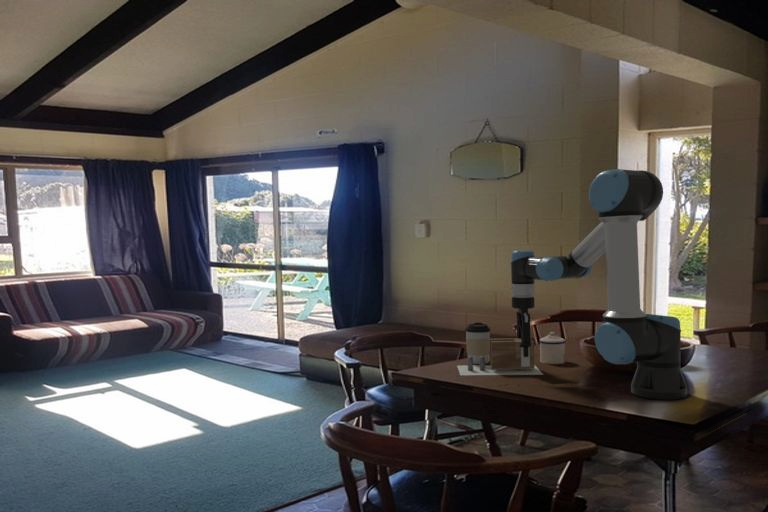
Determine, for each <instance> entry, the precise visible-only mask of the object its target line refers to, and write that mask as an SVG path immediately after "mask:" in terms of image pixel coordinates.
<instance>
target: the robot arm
mask: <svg viewBox="0 0 768 512" xmlns="http://www.w3.org/2000/svg"><path fill="white" fill-rule="evenodd" d="M663 187H664V186H663V184H662V182H661V180H660V178H659V177H658V176H657V175H656V174H654V173H652V172H650V171H647V170H634V169H633V170H632V169H623V168H622V169H620V168H618V169H607V170H604V171H601V172H600V173H598V175H596V177H595V178H594V179H593V180H592V182H591V184H590V186H589V190H588V191H589V192H588V199H589V203H590V205H591V206H592V208H593V209H594V210H595V211H597V212H598V220H599V221H600V223H599V224H598V225H597V226H596V227H595V228H594V229H593V230H592V231H591V232H590V233H588V235H586V237H585V238H583V240H581V242H580V243H579V244H578V245H576V247H574V249H573V250H572V251H571V252H569V254H567V255H561V256H560V255H559V256H535V252H534V251H533V250H528V249H525V250H524V249H523V250H522V249H521V250H513V251H512V252H511V256H510V257H511V261H510V267H511V268H510V271H511V273H510V275H511V286H509V289H510V290H511V295H512V296H511V308H513V309H518V310H517V311H516V314H515V315H516V337H515V338H521V340H522V345H520V347H521V366H522V367H530V346H531V339H532V338H531V315H530V313H529V309H534V308H535V297H534V296H535V281H536V280H537V281H545V282H549V281H550V282H555V281H557V280H571V279H574V280H575V279H581V278H586V277H587V276H589V275H590V274H591V271H592V269H593V267H592V265H593V264H594V263H595V262H596V261H597V260H598V259H599V258H601V257H602V255H604V254H605V264H606V265H605V268H606V289H607V309H606V310H605V312H603V314H602V324H600V325H598V327H597V329H596V331H595V332H594V343H595V347H596V349H597V351H598V353H599V355H601V356H602V358H603V359H604V360H605V361H607V362H608V363H610V364H612V365H613V364H614V365H629V364H631V363H634V362H637V363H636V364H637V365H636V366H637V367H636V370H635V373H634V375H633V378H632V380H631V385H630V392H631V394H633V395H635V396H638V397H641V398H647V399H653V400H680V399H685V398H687V397H688V387H687V384H686V380H685V377H684V374H683V372H682V369H681V342H682V341H681V335H682V334H681V332H682V329H681V321H680V319H679V318H678V317H676V316H672V315H671V316H669V315H662V314H650V313H645V312H644V311H643V310H642V308H641V295H640V293H641V292H640V291H641V290H640V289H641V287H640V269H639V266H640V265H639V264H640V263H639V245H638V244H639V242H638V240H639V239H638V238H639V237H638V222H644V221H645V220H647V219H648V218H649V217H650V216H651V215H652V214H653V213H655V211H656V210H657V208H658V207H659V206H660V204H661V203H662V200H663V196H664V188H663Z"/></svg>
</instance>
